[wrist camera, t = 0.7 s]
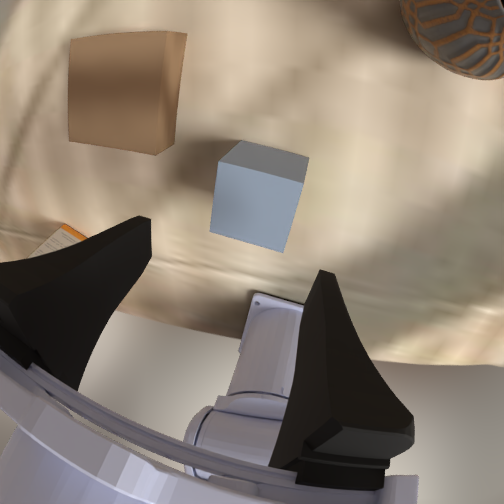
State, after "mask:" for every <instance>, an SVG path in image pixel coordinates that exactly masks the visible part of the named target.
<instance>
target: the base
mask: <svg viewBox="0 0 504 504" xmlns="http://www.w3.org/2000/svg"><path fill="white" fill-rule="evenodd" d="M186 39H187V34H186V33H178V32H170V31H149V32H129V33H116V34H106V35H97V36H90V37H83V38H76V39H71V45H70V57H69V75H68V126H69V141H70V142H78V143H85V144H91V145H98V146H104V147H110V148H116V149H122V150H128V151H134V152H139V153H144V154H150V155H155V156H156V155H157V154H159V153H160V152H162V151H164V150H165V149H167V148H168V147H170V146H172V145H173V144H174V140H175V128H176V117H177V107H178V98H179V89H180V81H181V73H182V66H183V59H184V52H185V45H186Z"/></svg>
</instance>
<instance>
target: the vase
mask: <svg viewBox="0 0 504 504" xmlns="http://www.w3.org/2000/svg"><path fill="white" fill-rule="evenodd" d="M400 9H401V14H402V18H403V21H404V23H405V26H406V28H407V30H408V32H409V34H410V35H411V37H412V38H413V40H414V41H415V43H416V44H417V45H418V46H419V48H420V49H421V50H422V51H423V52H424V53H425V54H426V55H427V56H428V57H430V58H431V59H432V60H433V61H435V62H436V63H437V64H439V65H440V66H442V67H444V68H445V69H447V70H449V71H451V72H453V73H456V74H459V75H461V76H464V77H468V78H472V79H478V80H496V79H501V78H504V0H400Z"/></svg>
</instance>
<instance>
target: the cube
mask: <svg viewBox="0 0 504 504" xmlns="http://www.w3.org/2000/svg"><path fill="white" fill-rule="evenodd" d="M308 162H309V158H308V157H305V156H301V155H298V154H294V153H290V152H287V151H283V150H279V149H275V148H271V147H267V146H263V145H259V144H255V143H251V142H247V141H242V140H241V141H240V142H239V143H238V144H237V145H236V146H234V147H233V148H232V149H231V150H230V151H229V152H228V153H227V154H226V155H225V156H224V157H223V158H222V159H220V160H219V161H218V168H217V176H216V183H215V191H214V199H213V207H212V215H211V224H210V232H212V233H216V234H219V235H223V236H226V237H230V238H233V239H237V240H240V241H243V242H247V243H250V244H254V245H257V246H261V247H264V248H268V249H271V250H274V251H278V252H281V253H283V252H284V248H285V245H286V242H287V239H288V235H289V232H290V229H291V225H292V222H293V219H294V215H295V212H296V208H297V205H298V202H299V198H300V195H301V191H302V188H303V184H304V180H305V175H306V171H307V166H308Z"/></svg>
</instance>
